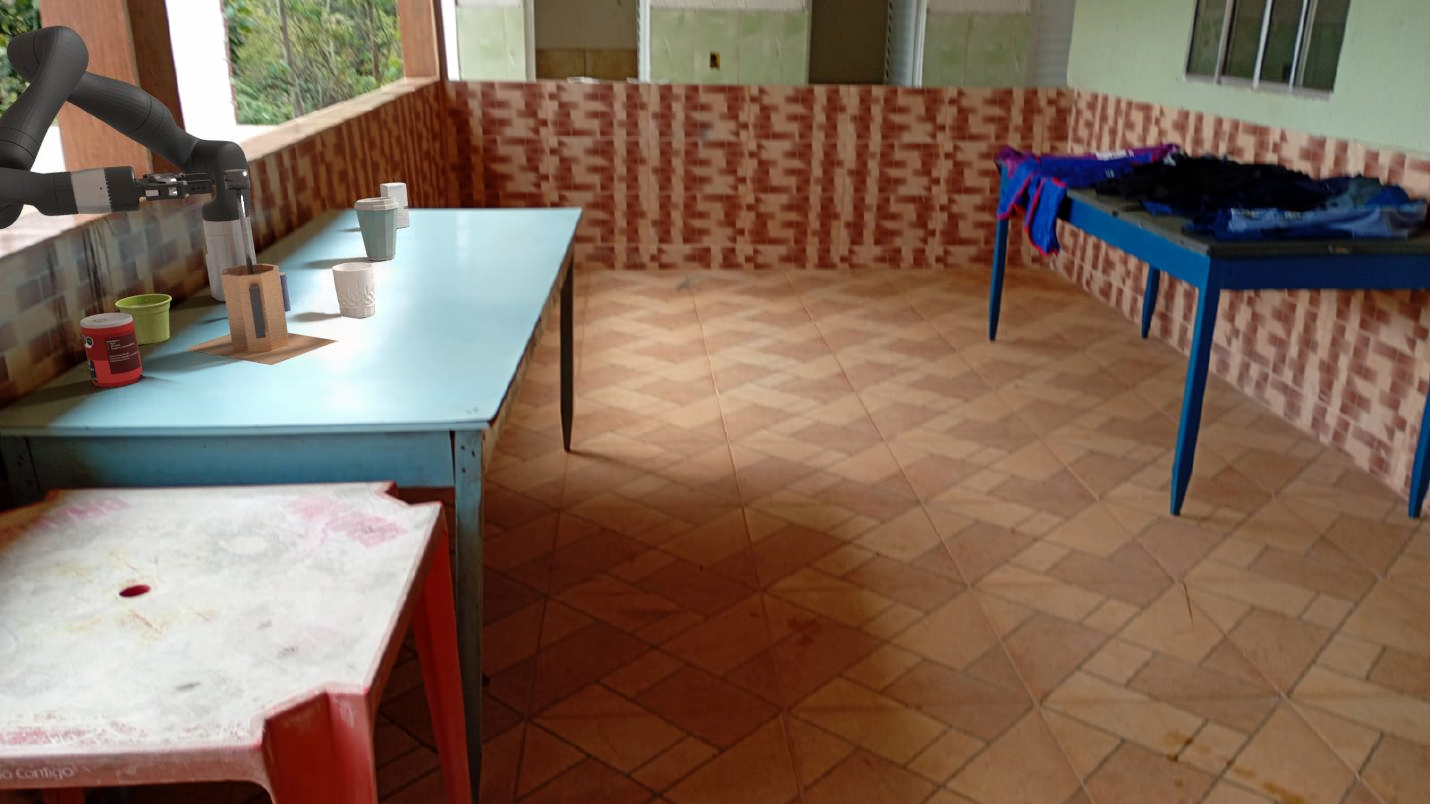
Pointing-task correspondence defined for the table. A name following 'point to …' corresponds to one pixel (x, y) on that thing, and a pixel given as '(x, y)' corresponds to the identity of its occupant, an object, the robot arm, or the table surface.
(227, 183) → the plunger
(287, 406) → the table surface
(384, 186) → the skincare box
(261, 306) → the press beaker
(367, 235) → the disposable coffee cup
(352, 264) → the white cup
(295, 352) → the walnut board
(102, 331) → the canned food
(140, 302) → the plant pot
